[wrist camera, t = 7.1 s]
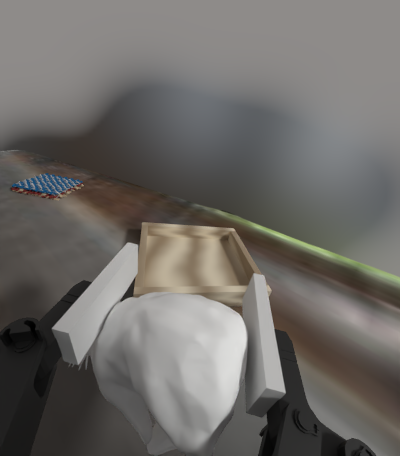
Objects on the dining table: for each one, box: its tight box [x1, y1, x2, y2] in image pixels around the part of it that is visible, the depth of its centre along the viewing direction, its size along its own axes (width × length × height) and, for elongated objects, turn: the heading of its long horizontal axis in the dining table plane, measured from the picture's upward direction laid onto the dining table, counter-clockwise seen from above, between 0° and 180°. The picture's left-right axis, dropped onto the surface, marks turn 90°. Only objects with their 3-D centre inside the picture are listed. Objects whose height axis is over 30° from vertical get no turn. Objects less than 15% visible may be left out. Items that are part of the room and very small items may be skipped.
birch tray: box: [133, 222, 272, 307], centre depth 32 cm, size 18×16×3 cm
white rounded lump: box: [69, 292, 248, 456], centre depth 12 cm, size 6×8×12 cm
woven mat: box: [11, 173, 84, 200], centre depth 46 cm, size 10×11×2 cm
